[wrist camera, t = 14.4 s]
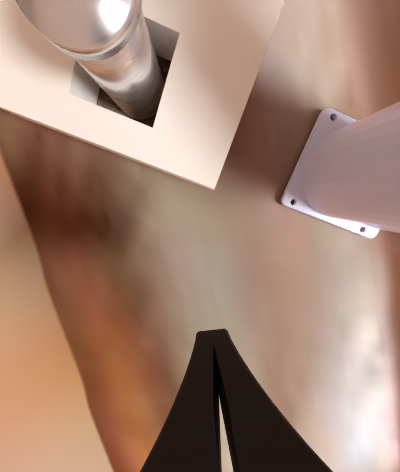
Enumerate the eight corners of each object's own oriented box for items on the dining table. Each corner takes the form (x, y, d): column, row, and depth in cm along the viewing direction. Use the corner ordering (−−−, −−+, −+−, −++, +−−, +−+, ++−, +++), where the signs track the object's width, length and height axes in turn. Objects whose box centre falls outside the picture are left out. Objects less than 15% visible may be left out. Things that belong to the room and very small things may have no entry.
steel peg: (175, 65, 14) (146, -97, 6) (162, 130, 15) (124, 62, 7) (113, 46, 14) (1, -151, 6) (105, 114, 15) (0, 24, 7)
